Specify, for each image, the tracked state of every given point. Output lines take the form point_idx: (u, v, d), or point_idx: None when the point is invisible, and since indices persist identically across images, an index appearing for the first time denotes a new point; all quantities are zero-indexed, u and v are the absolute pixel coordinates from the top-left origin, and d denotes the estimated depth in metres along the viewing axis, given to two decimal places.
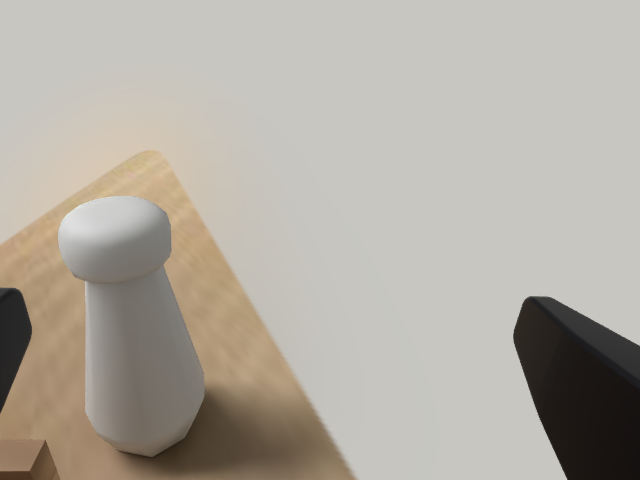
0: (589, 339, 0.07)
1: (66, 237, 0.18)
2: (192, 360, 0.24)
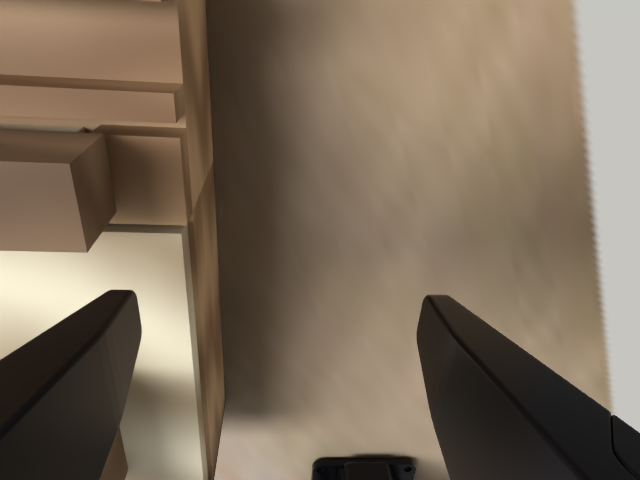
0: (468, 338, 0.07)
1: None
2: None
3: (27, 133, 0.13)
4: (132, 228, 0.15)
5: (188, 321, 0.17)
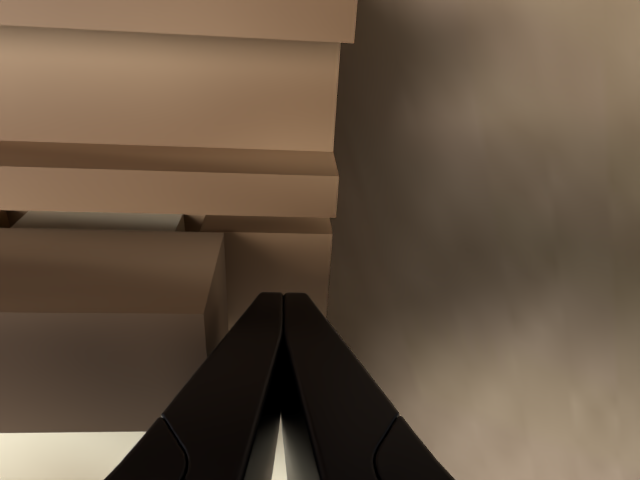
0: (297, 336, 0.07)
1: None
2: None
3: (111, 237, 0.08)
4: None
5: None
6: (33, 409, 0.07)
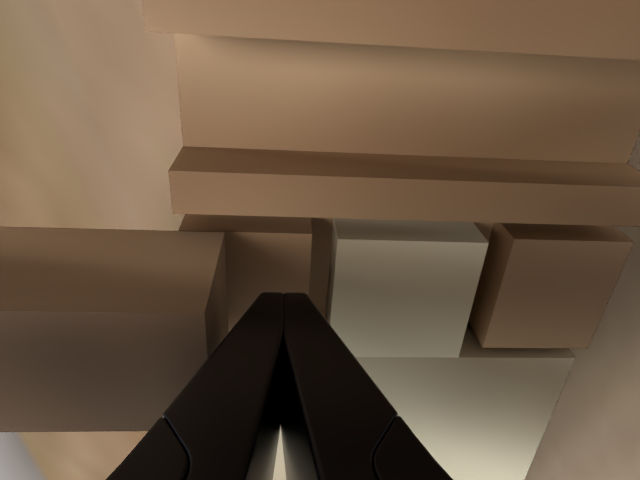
0: (296, 336, 0.07)
1: None
2: None
3: (112, 236, 0.08)
4: (506, 350, 0.11)
5: (533, 456, 0.13)
6: (33, 408, 0.07)
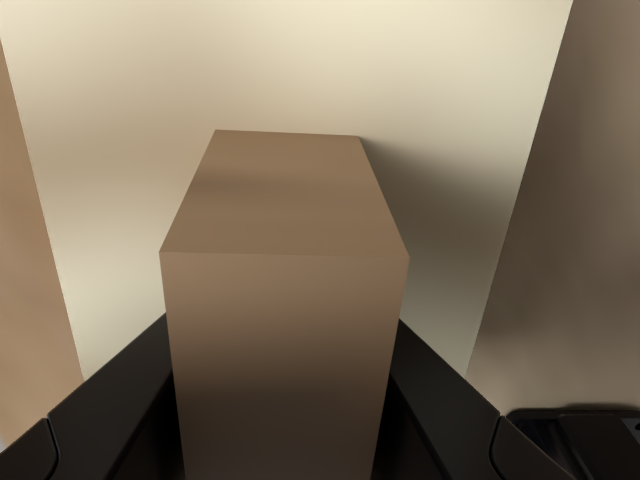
0: None
1: None
2: None
3: None
4: None
5: (566, 18, 0.07)
6: None
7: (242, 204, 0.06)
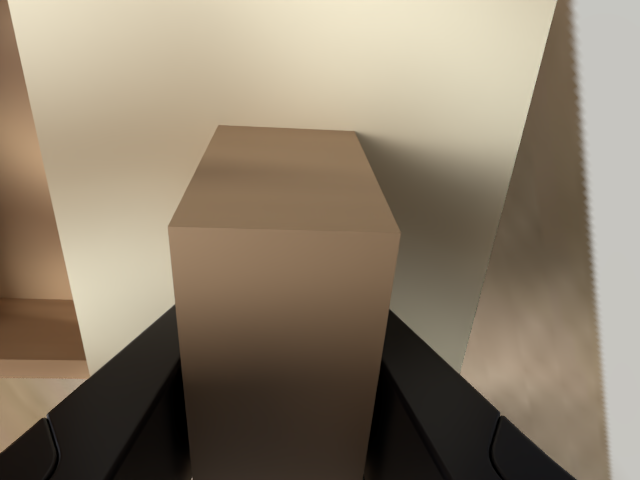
0: None
1: None
2: None
3: None
4: None
5: (550, 18, 0.08)
6: None
7: (244, 188, 0.06)
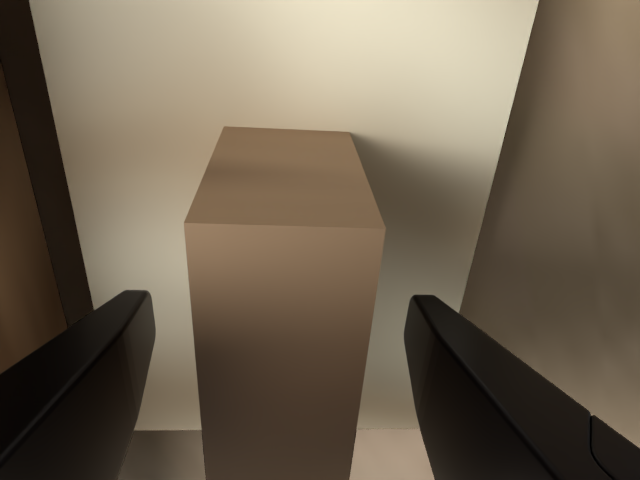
0: (451, 338, 0.07)
1: None
2: None
3: None
4: None
5: (530, 29, 0.09)
6: None
7: (249, 187, 0.07)
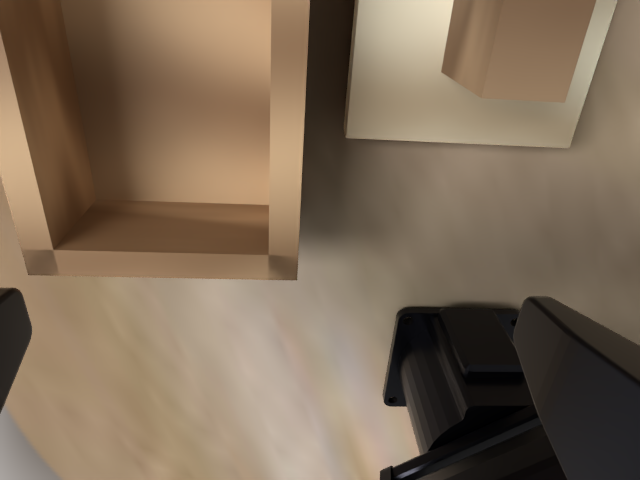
0: (589, 339, 0.07)
1: None
2: None
3: None
4: None
5: None
6: None
7: None
